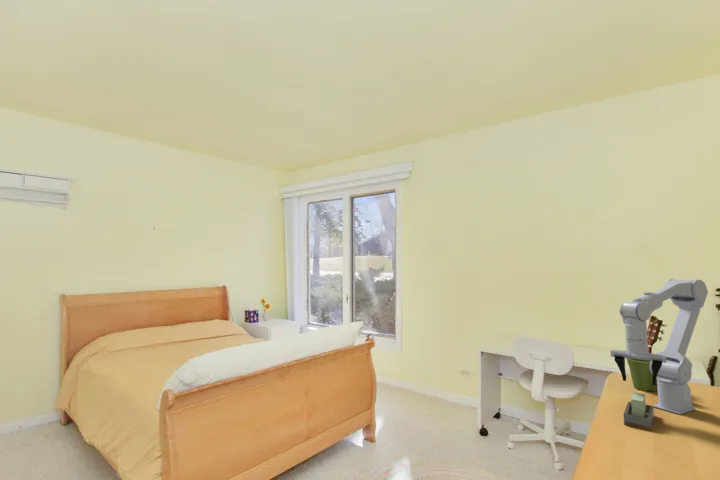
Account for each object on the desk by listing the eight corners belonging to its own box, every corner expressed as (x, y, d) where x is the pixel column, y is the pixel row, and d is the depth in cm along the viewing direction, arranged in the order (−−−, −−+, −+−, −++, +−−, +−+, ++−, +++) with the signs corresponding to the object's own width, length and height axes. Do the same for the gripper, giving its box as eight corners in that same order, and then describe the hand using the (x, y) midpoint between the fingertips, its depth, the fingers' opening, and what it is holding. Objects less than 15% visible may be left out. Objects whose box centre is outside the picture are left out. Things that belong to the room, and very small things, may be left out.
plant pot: (666, 395, 140) (664, 364, 141) (627, 390, 146) (625, 360, 147) (663, 387, 150) (661, 357, 150) (626, 382, 156) (624, 354, 157)
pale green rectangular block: (634, 411, 122) (633, 392, 123) (646, 413, 120) (644, 394, 121) (632, 419, 116) (631, 399, 116) (644, 422, 114) (643, 401, 114)
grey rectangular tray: (628, 410, 126) (628, 401, 126) (654, 415, 121) (653, 405, 122) (624, 424, 115) (623, 414, 115) (651, 430, 111) (651, 419, 111)
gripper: (608, 338, 126) (610, 381, 125) (664, 343, 117) (667, 389, 116) (611, 335, 131) (613, 376, 130) (665, 340, 122) (668, 384, 121)
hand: (639, 382), depth 123 cm, fingers open, 7 cm apart
